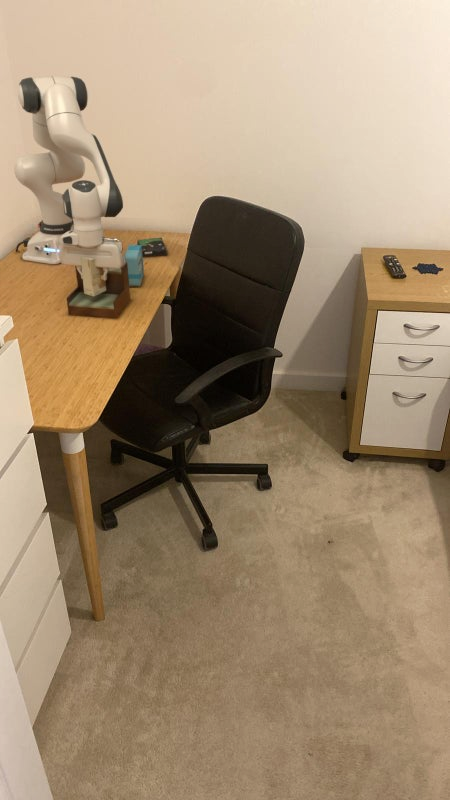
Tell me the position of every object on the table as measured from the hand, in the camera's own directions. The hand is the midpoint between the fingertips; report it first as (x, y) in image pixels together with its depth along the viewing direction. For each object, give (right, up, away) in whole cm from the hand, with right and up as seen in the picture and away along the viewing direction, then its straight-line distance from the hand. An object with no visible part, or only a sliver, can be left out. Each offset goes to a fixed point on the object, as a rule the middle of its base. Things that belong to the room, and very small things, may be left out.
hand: (94, 279), depth 207 cm
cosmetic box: (0, -4, +3) cm, 5 cm away
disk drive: (+12, +22, +55) cm, 60 cm away
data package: (+10, +4, +27) cm, 29 cm away
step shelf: (0, -8, +8) cm, 11 cm away
